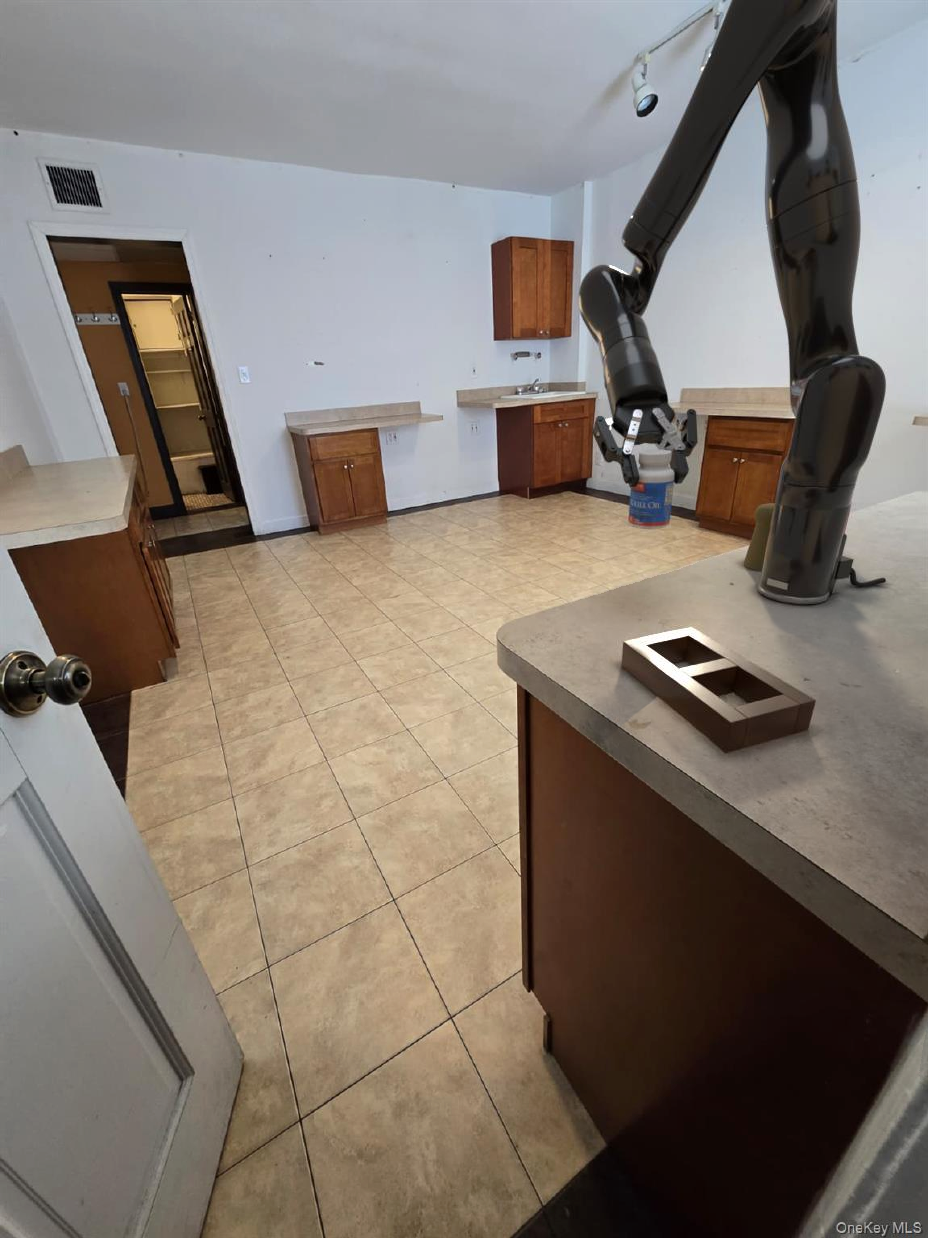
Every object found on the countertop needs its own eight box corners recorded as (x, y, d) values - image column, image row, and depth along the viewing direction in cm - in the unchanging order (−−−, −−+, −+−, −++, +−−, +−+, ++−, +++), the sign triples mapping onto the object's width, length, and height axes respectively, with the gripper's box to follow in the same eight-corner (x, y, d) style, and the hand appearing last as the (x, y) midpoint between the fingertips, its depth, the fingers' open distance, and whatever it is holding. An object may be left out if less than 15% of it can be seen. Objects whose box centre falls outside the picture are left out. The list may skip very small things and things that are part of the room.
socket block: (688, 651, 66) (691, 626, 64) (808, 730, 50) (816, 700, 49) (621, 666, 64) (622, 641, 62) (725, 753, 48) (731, 722, 47)
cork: (786, 571, 89) (800, 508, 84) (748, 571, 90) (759, 508, 85) (775, 560, 94) (786, 500, 89) (739, 560, 95) (749, 500, 91)
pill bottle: (621, 527, 71) (626, 454, 66) (636, 518, 74) (641, 448, 70) (662, 531, 67) (669, 455, 63) (675, 521, 71) (682, 448, 67)
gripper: (588, 363, 69) (610, 468, 63) (694, 355, 69) (726, 459, 63) (577, 404, 76) (596, 502, 70) (674, 397, 76) (701, 494, 70)
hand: (657, 481), depth 67 cm, fingers closed on pill bottle, 5 cm apart
